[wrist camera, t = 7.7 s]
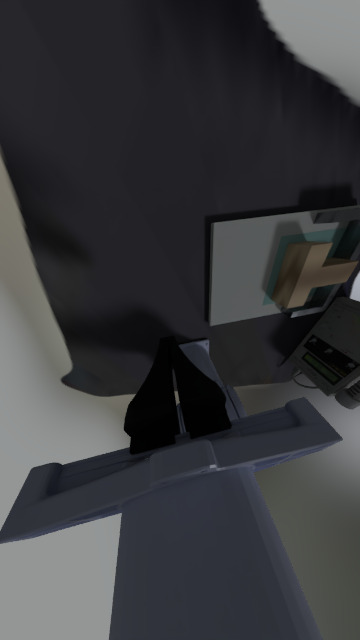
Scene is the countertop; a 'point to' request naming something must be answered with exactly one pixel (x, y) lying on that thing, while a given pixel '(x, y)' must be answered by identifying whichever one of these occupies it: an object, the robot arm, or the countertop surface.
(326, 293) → the bracket
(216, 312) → the mat
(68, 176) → the countertop surface
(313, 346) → the geiger counter
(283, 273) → the t block
